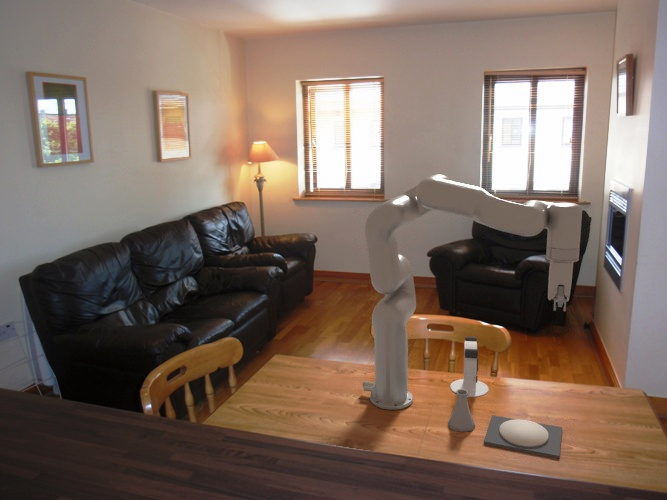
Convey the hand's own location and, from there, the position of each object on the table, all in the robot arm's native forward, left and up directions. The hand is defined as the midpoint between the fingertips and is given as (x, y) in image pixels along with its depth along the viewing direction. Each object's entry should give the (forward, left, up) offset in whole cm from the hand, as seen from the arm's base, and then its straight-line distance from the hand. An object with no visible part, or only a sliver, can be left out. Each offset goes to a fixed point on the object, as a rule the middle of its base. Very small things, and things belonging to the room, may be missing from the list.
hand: (558, 318), depth 146 cm
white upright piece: (-24, +15, -31) cm, 42 cm away
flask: (-22, -7, -31) cm, 39 cm away
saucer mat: (-6, -7, -31) cm, 32 cm away
